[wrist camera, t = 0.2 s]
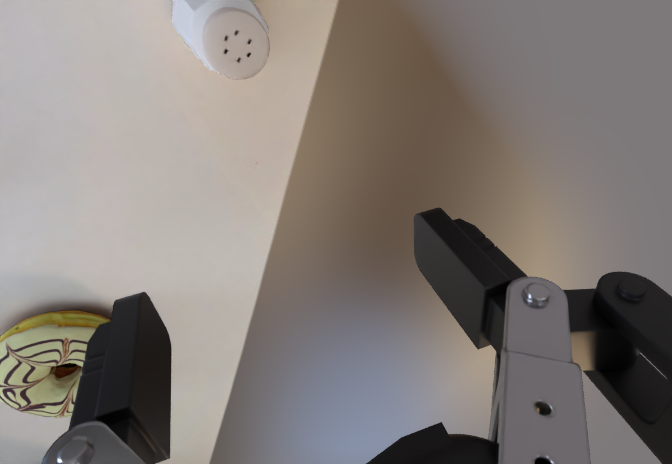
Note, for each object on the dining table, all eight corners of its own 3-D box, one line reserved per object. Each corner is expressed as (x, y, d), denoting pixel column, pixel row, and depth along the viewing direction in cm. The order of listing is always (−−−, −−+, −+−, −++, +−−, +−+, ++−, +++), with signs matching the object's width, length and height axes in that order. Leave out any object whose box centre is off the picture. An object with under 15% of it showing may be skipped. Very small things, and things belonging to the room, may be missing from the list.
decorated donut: (-5, 394, 36) (-21, 434, 33) (-10, 297, 32) (-29, 333, 29) (129, 389, 41) (126, 423, 38) (142, 303, 36) (140, 335, 33)
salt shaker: (152, 27, 26) (144, 65, 17) (195, -58, 24) (210, -64, 16) (231, 77, 29) (259, 132, 20) (274, 4, 27) (323, 28, 19)
